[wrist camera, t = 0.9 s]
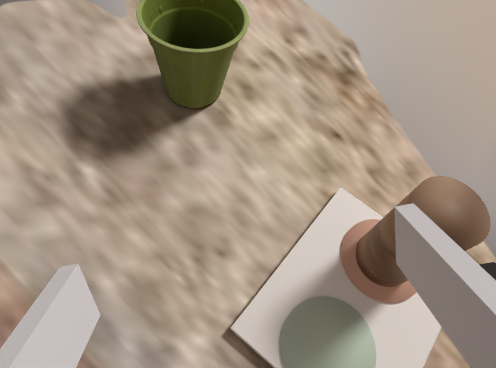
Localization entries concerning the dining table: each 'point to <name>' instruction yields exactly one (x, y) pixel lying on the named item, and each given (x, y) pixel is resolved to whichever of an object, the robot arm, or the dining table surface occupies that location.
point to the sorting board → (336, 303)
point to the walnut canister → (439, 211)
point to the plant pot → (193, 44)
